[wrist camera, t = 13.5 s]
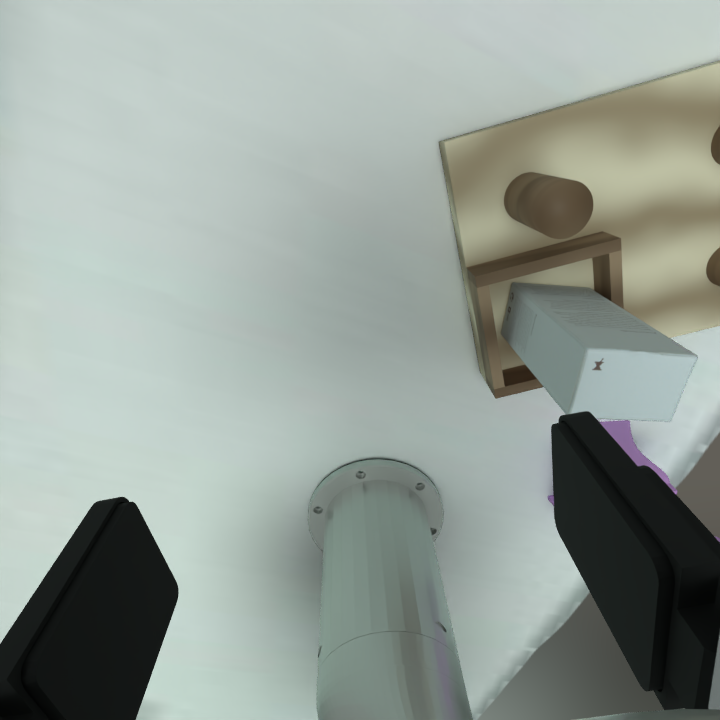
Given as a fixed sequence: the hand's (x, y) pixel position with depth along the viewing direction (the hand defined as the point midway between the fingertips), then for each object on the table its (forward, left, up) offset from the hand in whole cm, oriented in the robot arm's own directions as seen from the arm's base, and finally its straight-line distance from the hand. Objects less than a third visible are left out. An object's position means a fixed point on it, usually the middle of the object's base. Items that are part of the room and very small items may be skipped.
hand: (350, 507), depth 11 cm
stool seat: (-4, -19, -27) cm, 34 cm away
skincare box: (-8, -13, -26) cm, 30 cm away
